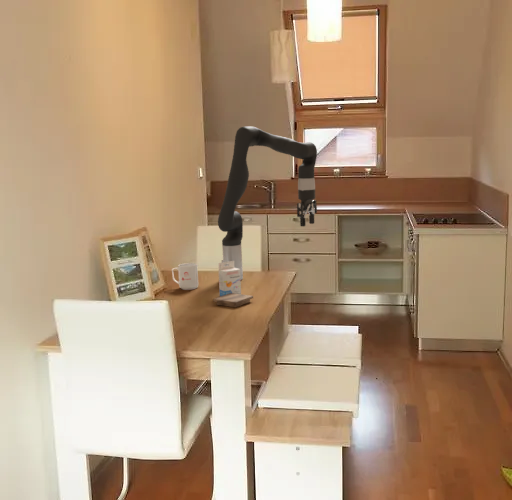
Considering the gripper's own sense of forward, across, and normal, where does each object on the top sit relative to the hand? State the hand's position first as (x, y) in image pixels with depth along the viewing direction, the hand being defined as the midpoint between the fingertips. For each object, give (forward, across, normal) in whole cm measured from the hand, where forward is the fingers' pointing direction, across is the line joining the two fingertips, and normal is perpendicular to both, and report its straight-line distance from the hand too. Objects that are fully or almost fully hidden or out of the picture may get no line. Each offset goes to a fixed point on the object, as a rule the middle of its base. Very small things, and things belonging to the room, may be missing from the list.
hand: (307, 224), depth 301 cm
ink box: (+29, +25, -26) cm, 46 cm away
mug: (+30, +21, -54) cm, 65 cm away
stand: (+29, +36, -17) cm, 49 cm away
